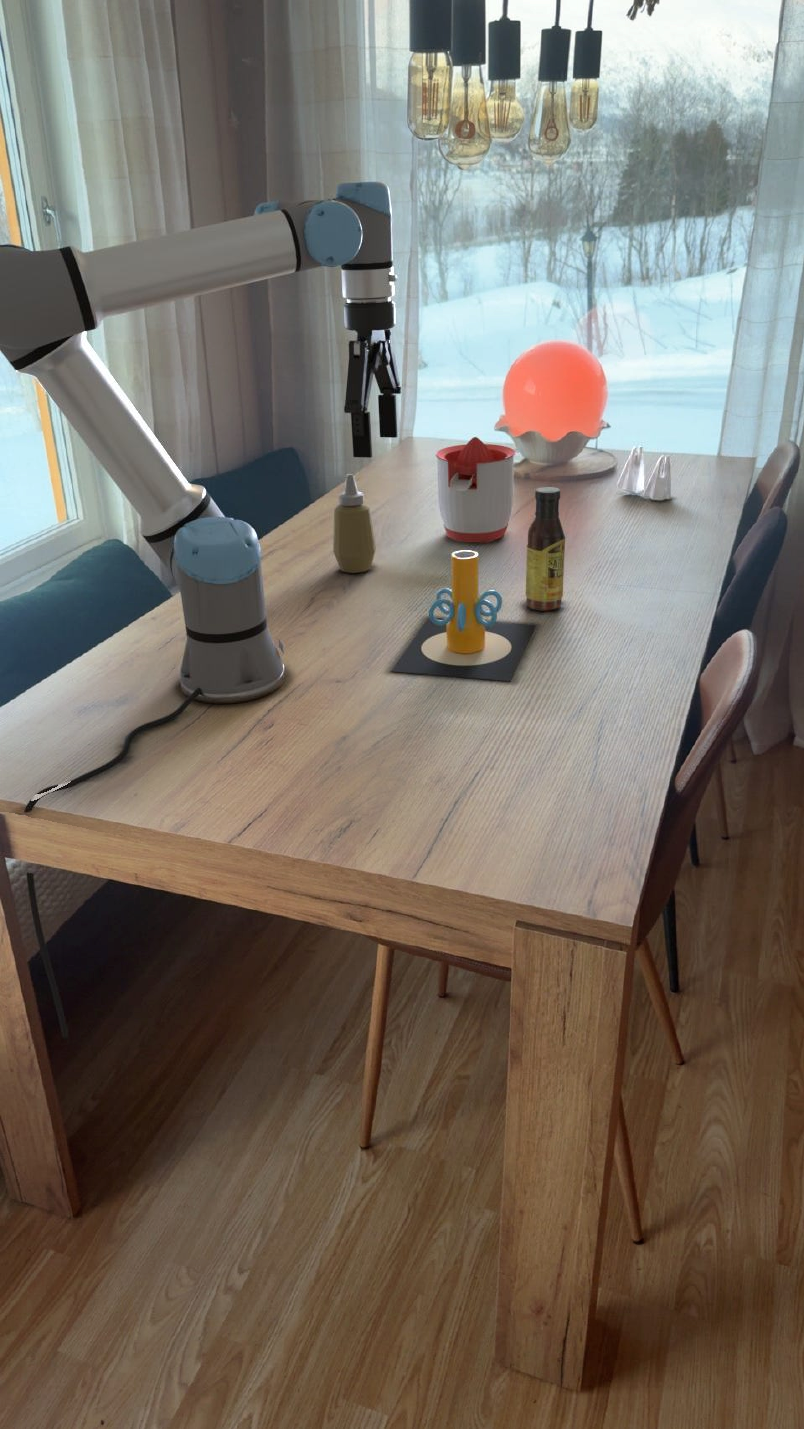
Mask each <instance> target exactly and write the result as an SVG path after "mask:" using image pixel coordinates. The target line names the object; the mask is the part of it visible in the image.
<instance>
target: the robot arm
mask: <svg viewBox="0 0 804 1429" xmlns="http://www.w3.org/2000/svg"><path fill="white" fill-rule="evenodd" d="M391 200H392V199H391V193H390V188H389V186H388V185H387V183H385V182H383V181H378V180H377V181H359V182H341V183H339V184H337V186H336V194H335V197H334V198H328V199H308V200H307V199H306V200H303V199H301V200H275V201H269V202H261V203H259V204H258V205H257V206H256V208H255V210H254V214H253V215H249V216H246V217H241V218H236V219H232V220H231V219H230V220H228V221H223V222H218V223H213V224H209V225H208V224H207V225H205V226H200V227H195V228H190V229H186V230H181V231H177V232H172V233H168V234H163V235H158V236H154V237H149V238H144V239H140V240H136V241H135V240H134V241H131V242H126V243H122V244H118V245H112V246H109V247H108V246H107V247H104V248H99V249H94V250H89V251H86V252H84V251H81V250H79V249H78V248H77V247H75V246H73V245H69V246H64V247H59V248H54V249H46V250H31V249H29V248H27V247H24V246H21V245H18V244H17V245H16V244H9V243H6V244H0V353H1V354H2V355H3V356H4V358H5V359H6V360H7V361H8V363H9V364H10V365H11V367H12V368H13V369H14V370H15V372H16V373H19V374H24V375H28V376H32V377H33V378H35V380H36V381H37V382H38V383H39V385H40V386H41V388H43V390H44V391H45V393H46V395H48V396H49V398H50V399H51V400H52V402H53V403H54V404H55V406H56V407H57V408H58V411H60V413H61V414H62V415H63V417H64V418H65V419H66V420H67V422H68V423H69V425H70V426H71V427H72V428H73V430H74V431H75V432H76V433H77V435H78V436H79V438H80V439H81V440H82V441H83V442H84V444H85V445H86V446H87V448H88V450H90V452H91V453H92V455H93V456H94V457H95V458H96V460H97V461H98V463H99V464H100V465H101V466H102V467H103V469H104V470H105V472H106V473H107V474H108V476H109V477H110V478H111V479H112V481H113V482H114V484H115V485H116V486H117V487H118V489H119V490H120V491H121V493H122V494H123V495H124V497H125V498H126V500H127V501H128V502H129V503H130V505H131V506H132V507H133V508H134V510H135V511H136V513H137V514H138V515H139V517H140V522H139V528H138V531H139V533H140V535H141V536H142V537H143V539H144V540H145V541H146V542H147V544H148V545H149V547H150V548H151V549H152V550H153V552H154V553H155V554H156V556H157V557H158V558H159V560H160V561H161V562H162V564H163V565H164V567H165V568H166V569H167V571H168V572H169V573H170V575H171V577H172V578H173V581H174V582H175V583H176V585H177V587H178V589H179V594H180V598H181V605H182V613H183V620H184V626H185V632H186V641H185V646H184V650H183V651H184V652H183V655H182V661H181V666H180V673H179V681H180V689H181V691H182V693H183V694H184V695H185V696H187V698H186V699H184V701H183V702H182V703H181V704H180V706H179V707H178V708H176V709H175V711H173V712H172V713H171V712H170V714H168V715H166V716H164V717H161V718H158V719H155V720H152V721H149V722H146V723H144V724H141V725H139V726H137V727H135V728H134V729H133V730H132V731H131V732H129V733H128V734H127V736H126V737H125V739H124V742H123V746H122V748H121V750H120V752H119V753H118V754H117V755H116V756H115V757H114V758H112V759H111V760H109V761H108V762H106V763H105V764H103V765H101V766H99V767H97V768H95V769H92V770H91V771H88V772H86V773H84V774H82V775H79V776H78V777H75V778H73V779H71V780H70V781H71V782H70V783H68V784H67V785H65V786H63V787H61V788H59V789H57V790H55V791H53V792H51V793H48V794H46V795H44V796H42V797H41V798H39V799H37V800H34V801H31V799H29V801H28V803H27V804H26V806H25V808H24V811H23V813H26V814H27V813H30V812H32V811H33V809H34V807H35V806H36V804H37V803H38V802H39V801H40V800H41V799H42V798H44V797H45V796H47V795H49V794H52V793H55V792H59V791H63V790H67V789H70V788H73V787H75V786H77V785H79V784H81V783H83V782H86V781H88V780H90V779H92V778H94V777H96V776H98V775H100V774H102V773H104V772H106V771H108V770H110V769H111V768H114V766H116V765H118V764H119V763H120V762H122V761H123V759H125V757H126V756H127V754H128V752H129V751H130V750H129V749H130V746H131V743H132V741H133V740H134V738H135V737H136V736H138V735H139V734H140V733H142V732H144V731H146V730H149V729H152V728H154V727H157V726H160V725H163V724H166V723H168V722H170V721H172V720H174V719H176V718H177V717H179V716H180V715H181V714H182V713H183V712H184V711H185V710H186V709H187V708H188V706H189V705H191V703H192V702H193V701H194V700H195V701H199V702H203V703H207V704H237V703H242V702H248V701H252V700H256V699H259V698H262V697H264V696H265V697H266V696H267V695H269V694H271V693H273V692H274V691H276V690H277V689H278V688H280V687H281V686H282V685H283V684H284V681H285V680H286V675H285V664H284V663H283V659H282V657H281V654H280V653H279V651H278V648H279V650H280V651H281V652H282V654H284V653H285V651H284V644H283V643H282V641H281V640H280V638H277V641H278V642H277V643H278V648H277V646H276V644H275V642H274V640H273V637H272V636H271V634H270V631H269V629H268V620H267V611H266V610H267V608H266V601H265V600H266V599H265V590H264V580H263V579H264V578H263V569H262V560H261V559H262V549H261V545H260V543H259V539H258V534H257V532H256V530H255V528H253V527H252V526H251V525H250V524H249V523H248V522H246V521H243V520H241V519H234V518H233V517H227V516H225V515H224V513H223V512H222V511H221V509H220V508H219V506H218V505H217V504H216V502H215V501H214V499H213V497H211V494H209V493H208V491H207V490H206V488H205V486H203V485H200V484H195V483H190V482H188V480H187V478H185V476H184V474H182V472H181V471H180V469H179V468H178V466H177V465H176V464H175V462H174V461H173V459H172V458H171V457H170V455H169V454H168V452H167V451H166V450H165V448H164V447H163V445H162V444H161V443H160V441H159V440H158V438H157V437H156V436H155V433H154V432H152V430H151V428H150V427H149V426H148V424H147V423H146V422H145V420H144V419H143V418H142V416H141V415H140V413H139V412H138V411H137V408H135V406H134V405H133V403H132V402H131V400H130V399H129V398H128V396H127V394H126V393H125V392H124V391H123V389H122V388H121V387H120V385H119V383H117V381H116V380H115V378H114V377H113V375H112V373H110V371H109V369H108V368H107V366H106V365H105V364H104V362H103V361H102V359H100V357H99V356H98V354H97V352H96V351H95V350H94V349H93V347H92V345H91V344H90V343H89V341H88V339H87V336H88V332H90V331H93V330H97V329H99V327H100V325H101V323H102V321H103V320H104V319H105V318H110V317H115V316H117V315H122V314H126V313H130V312H135V311H139V310H143V309H147V308H151V307H155V306H159V305H163V304H168V303H173V302H177V301H181V300H184V299H189V298H193V297H197V296H201V295H206V294H209V293H214V292H218V291H222V290H227V289H230V288H235V287H239V286H243V285H247V284H248V285H249V284H251V283H255V282H259V281H265V280H268V279H272V278H276V277H281V276H284V275H289V274H293V273H299V272H304V271H308V270H313V269H317V268H321V267H327V268H335V267H339V266H340V271H341V293H342V294H341V295H342V298H343V299H344V300H346V302H344V304H343V318H344V328H345V329H346V330H348V331H351V332H352V331H355V332H356V340H349V341H348V365H347V376H346V387H345V388H346V389H345V400H344V406H343V411H344V413H345V414H350V422H351V439H352V457H353V458H365V459H366V458H367V459H369V458H372V457H373V447H372V446H373V444H372V426H371V412H370V411H368V409H369V402H370V396H371V390H372V385H373V379H374V378H375V381H376V384H377V387H378V390H379V393H380V394H378V395H377V401H378V402H377V403H378V424H379V425H378V426H379V427H378V428H379V438H391V439H392V438H393V439H394V438H396V439H397V438H398V416H397V414H398V413H397V395H401V394H402V386H401V381H400V377H399V372H398V367H397V366H398V365H397V360H396V355H395V350H394V345H393V331H392V329H393V328H395V327H396V323H397V322H396V302H394V300H393V299H391V298H392V297H394V295H395V283H396V282H397V281H398V276H397V274H394V258H393V212H392V201H391ZM57 786H58V784H54V785H51V786H48V787H45V788H42V789H41V790H39V791H38V792H36V794H41V793H44V792H47V791H49V790H51V789H52V788H55V787H57ZM34 876H35V875H34V873H33V872H27V871H26V881H27V890H28V897H29V903H30V908H31V910H30V911H31V914H32V920H33V925H34V930H35V933H36V939H37V942H38V946H39V950H40V954H41V957H42V961H43V965H44V968H45V973H46V976H47V979H48V983H49V986H50V991H51V994H52V998H53V1002H54V1006H55V1009H56V1013H57V1018H58V1022H59V1026H60V1030H61V1031H60V1032H61V1035H62V1036H61V1037H62V1038H63V1039H67V1038H69V1029H68V1027H67V1026H68V1025H67V1022H66V1016H65V1012H64V1009H63V1004H62V1000H61V996H60V992H59V988H58V984H57V981H56V978H55V974H54V970H53V967H52V964H51V960H50V955H49V952H48V949H47V944H46V940H45V936H44V932H43V927H42V923H41V918H40V912H39V906H38V901H37V894H36V887H35V878H34Z"/></svg>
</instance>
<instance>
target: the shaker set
mask: <svg viewBox="0 0 804 1429" xmlns="http://www.w3.org/2000/svg"><path fill="white" fill-rule="evenodd" d="M643 448H644V447H643V446H642V445H639V447H637V445H636V446H633V448H632V450H631V452H630V453H629V456H628V458H627V460H626V462H625V465H624V467H623V469H622V471H621V474H620V476H619V478H618V481H617V483H616V488H617V489H618V490H619V491H622V492H623V493H626V494H630V495H637V494H638V493H640V492H642V491H643V493H642V497H643V498H650V499H651V500H654V501H664V500H671V499H672V489H671V488H672V482H671V481H672V477H671V476H672V474H671V458H670V455H669V454H667V455H665V459H664V455H661V456H660V457H659V459H658V460H657V463H656V464H655V467H654V469H653V470H652V473H651V476H650V477H649V479H648V482H647V484H646V486H645V460H644V458H645V457H644V449H643ZM637 449H638V450H637Z"/></svg>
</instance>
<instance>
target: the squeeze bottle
mask: <svg viewBox="0 0 804 1429" xmlns="http://www.w3.org/2000/svg"><path fill="white" fill-rule="evenodd" d="M338 503H339V504H338V505H337V506H336V507H335V508H334V509H333V510H334V512H333V536H332V537H333V541H332V542H333V543H332V553H333V555H334V557H335V560H336V562H337V564H338V568H339V570H340V571H342V572H344V573H349V574H356V573H357V574H358V573H363V572H367V571H368V570H370V569H371V568H372V566H373V565H372V564H373V561H374V558H375V554H376V552H377V548H376V540H375V534H374V527H373V522H372V521H373V520H372V515H371V507H370V506H369V505H368V504H367V503H365V494H364V492H362V491H358V487H357V483H356V479H355V476H354V474H353V473H347V474H346V477H345V484H344V491H343V492H340V493H339V494H338Z"/></svg>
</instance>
